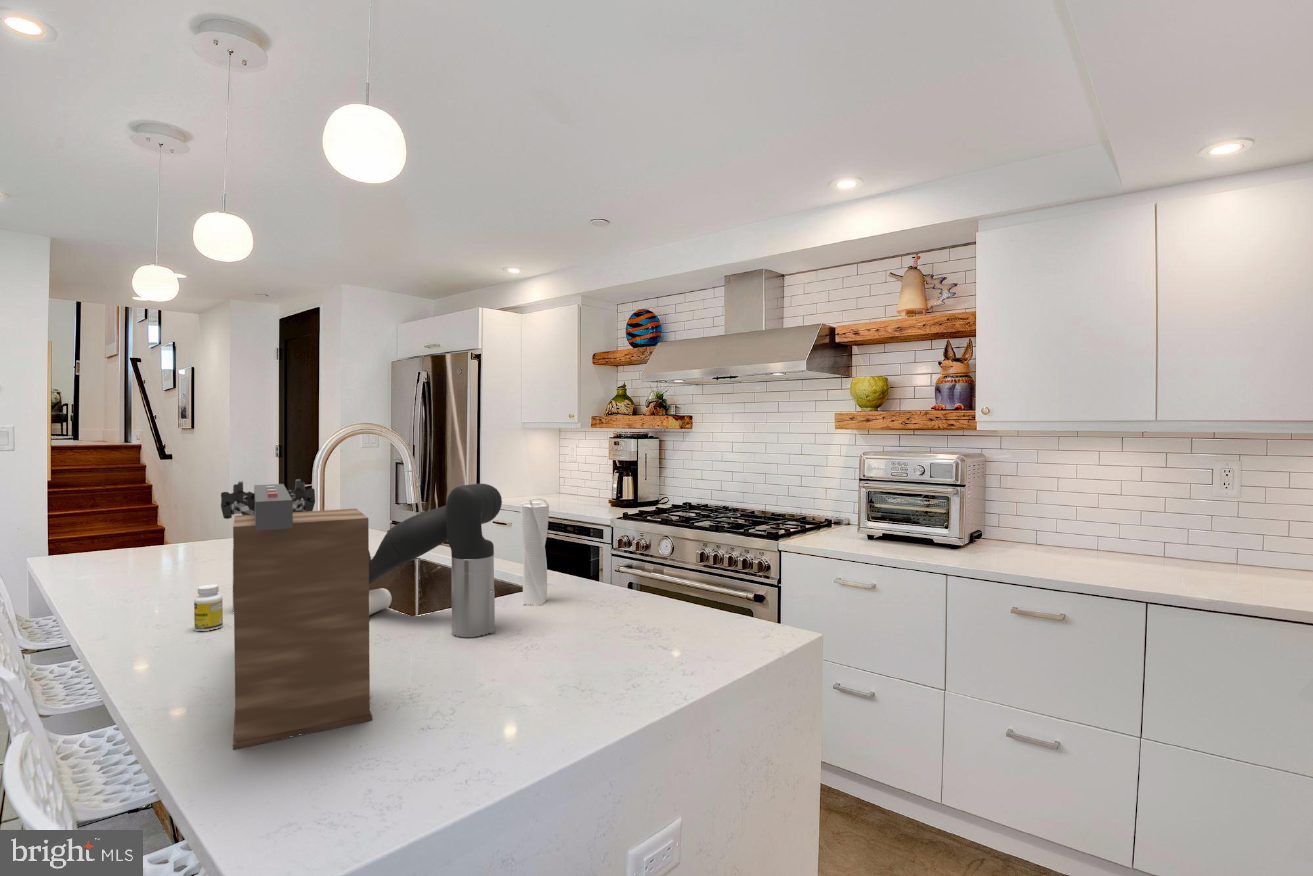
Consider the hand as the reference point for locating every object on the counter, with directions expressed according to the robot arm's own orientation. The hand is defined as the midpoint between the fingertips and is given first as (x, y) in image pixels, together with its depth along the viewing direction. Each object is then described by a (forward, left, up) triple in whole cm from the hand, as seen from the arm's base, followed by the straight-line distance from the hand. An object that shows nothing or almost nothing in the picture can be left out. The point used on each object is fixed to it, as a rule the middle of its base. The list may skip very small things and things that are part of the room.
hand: (269, 485), depth 113 cm
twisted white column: (-49, -51, -37) cm, 80 cm away
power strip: (-2, +7, -4) cm, 9 cm away
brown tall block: (-6, +8, -36) cm, 38 cm away
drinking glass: (-12, -56, -34) cm, 66 cm away
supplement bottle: (+25, -49, -37) cm, 66 cm away
